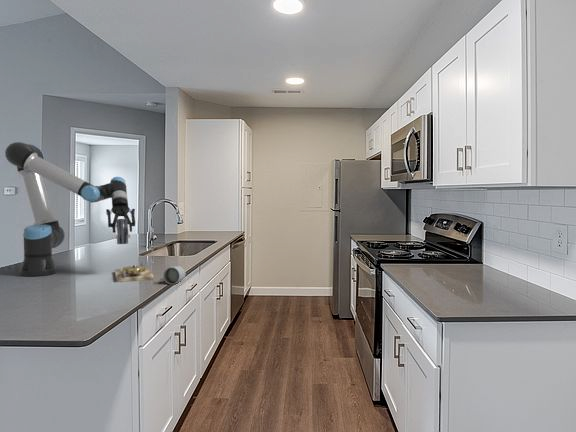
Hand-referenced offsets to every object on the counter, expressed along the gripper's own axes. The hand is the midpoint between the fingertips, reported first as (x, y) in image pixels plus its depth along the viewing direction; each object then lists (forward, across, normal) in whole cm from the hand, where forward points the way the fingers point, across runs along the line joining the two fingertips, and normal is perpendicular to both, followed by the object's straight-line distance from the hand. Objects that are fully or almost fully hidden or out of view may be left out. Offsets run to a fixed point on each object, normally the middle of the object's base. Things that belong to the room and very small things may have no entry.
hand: (123, 236), depth 204 cm
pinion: (0, 0, -5) cm, 5 cm away
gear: (+18, -4, -7) cm, 20 cm away
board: (+14, -4, -12) cm, 19 cm away
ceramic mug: (+31, -18, +3) cm, 36 cm away
